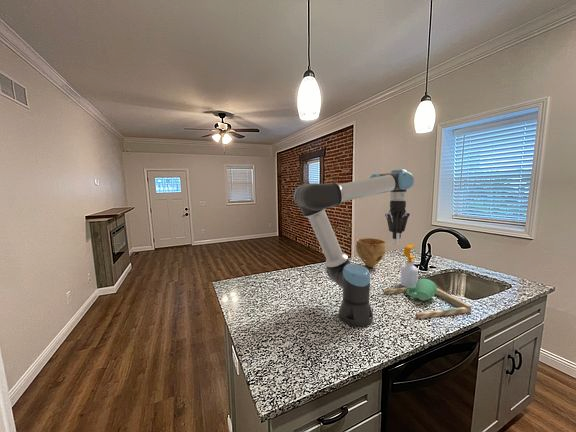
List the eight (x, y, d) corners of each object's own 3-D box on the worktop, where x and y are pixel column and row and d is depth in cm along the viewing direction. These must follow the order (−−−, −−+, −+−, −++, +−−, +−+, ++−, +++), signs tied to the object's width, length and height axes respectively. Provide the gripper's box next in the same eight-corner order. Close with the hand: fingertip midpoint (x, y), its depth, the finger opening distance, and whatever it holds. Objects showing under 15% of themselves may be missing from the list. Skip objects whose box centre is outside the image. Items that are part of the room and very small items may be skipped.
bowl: (365, 260, 194) (366, 236, 192) (390, 267, 179) (391, 240, 176) (349, 266, 181) (350, 240, 179) (374, 274, 166) (375, 245, 163)
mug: (436, 305, 121) (439, 295, 129) (429, 287, 121) (432, 277, 129) (406, 305, 131) (410, 296, 139) (399, 288, 131) (404, 280, 138)
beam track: (418, 318, 111) (418, 312, 110) (384, 292, 137) (384, 287, 137) (471, 312, 115) (471, 306, 115) (428, 288, 142) (428, 283, 142)
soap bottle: (420, 286, 144) (423, 246, 141) (409, 289, 141) (411, 247, 138) (408, 281, 153) (410, 242, 150) (397, 283, 149) (398, 244, 146)
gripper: (390, 200, 122) (389, 247, 125) (414, 200, 124) (412, 245, 127) (382, 200, 129) (380, 243, 132) (404, 199, 131) (402, 242, 134)
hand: (396, 244), depth 129 cm, fingers closed
